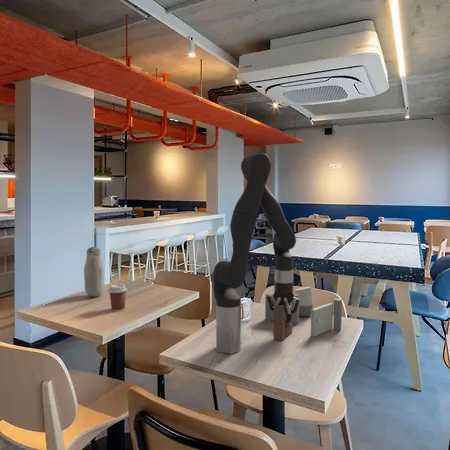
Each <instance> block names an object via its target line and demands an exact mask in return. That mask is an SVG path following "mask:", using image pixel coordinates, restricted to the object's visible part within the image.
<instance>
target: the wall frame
mask: <svg viewBox="0 0 450 450" xmlns="http://www.w3.org/2000/svg"><path fill="white" fill-rule="evenodd" d="M273 294H274V293H265V295H264V296H265V298H264V299H265V303H264V304H265V311H264V313H265V314H264V317H265V318H264V320H265V321H270V322H274V311H273V310H271V309H270V306H269V303H268V300H267V296H269V295H273ZM293 295H294V297H296V298H299V294H295V293H293ZM273 303H274V305H276V303H277V302H276V300H275V299H274V297H273ZM280 306H282V307H283V305H280ZM294 306H295V303H294V300H292V301H291V308H292V309H293V308H294ZM342 312H343V299H342V298H338V297H336V298H335V297H334V299H333V325H332V330H334V331H341V329H342V314H343V313H342ZM299 323H300V316H299V306H298V308H297V311H296V312H295V313H292V320H291V325H299Z"/></svg>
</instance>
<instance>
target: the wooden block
mask: <svg viewBox="0 0 450 450" xmlns="http://www.w3.org/2000/svg"><path fill="white" fill-rule="evenodd" d="M287 314H288V311H287V308H286V306H285V305H283V307H282V306H277V305H274V321H273V340H275V341H280V342H282V341H284V340H285V339H286V338H287V337H289V336H290V335H291V334H292V333H293V324H291V322H290V323H287Z"/></svg>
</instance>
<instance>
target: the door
mask: <svg viewBox="0 0 450 450" xmlns="http://www.w3.org/2000/svg"><path fill="white" fill-rule="evenodd" d="M333 320H334V303H332V302H329V303H328V302H327V303H326V304H323V305H320V306H317V307H314V308H313V309H311V315H310V336H311V337H314V338H315V337H318V335H321V334H324V333H326V332H328V331H330V330H333Z"/></svg>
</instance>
